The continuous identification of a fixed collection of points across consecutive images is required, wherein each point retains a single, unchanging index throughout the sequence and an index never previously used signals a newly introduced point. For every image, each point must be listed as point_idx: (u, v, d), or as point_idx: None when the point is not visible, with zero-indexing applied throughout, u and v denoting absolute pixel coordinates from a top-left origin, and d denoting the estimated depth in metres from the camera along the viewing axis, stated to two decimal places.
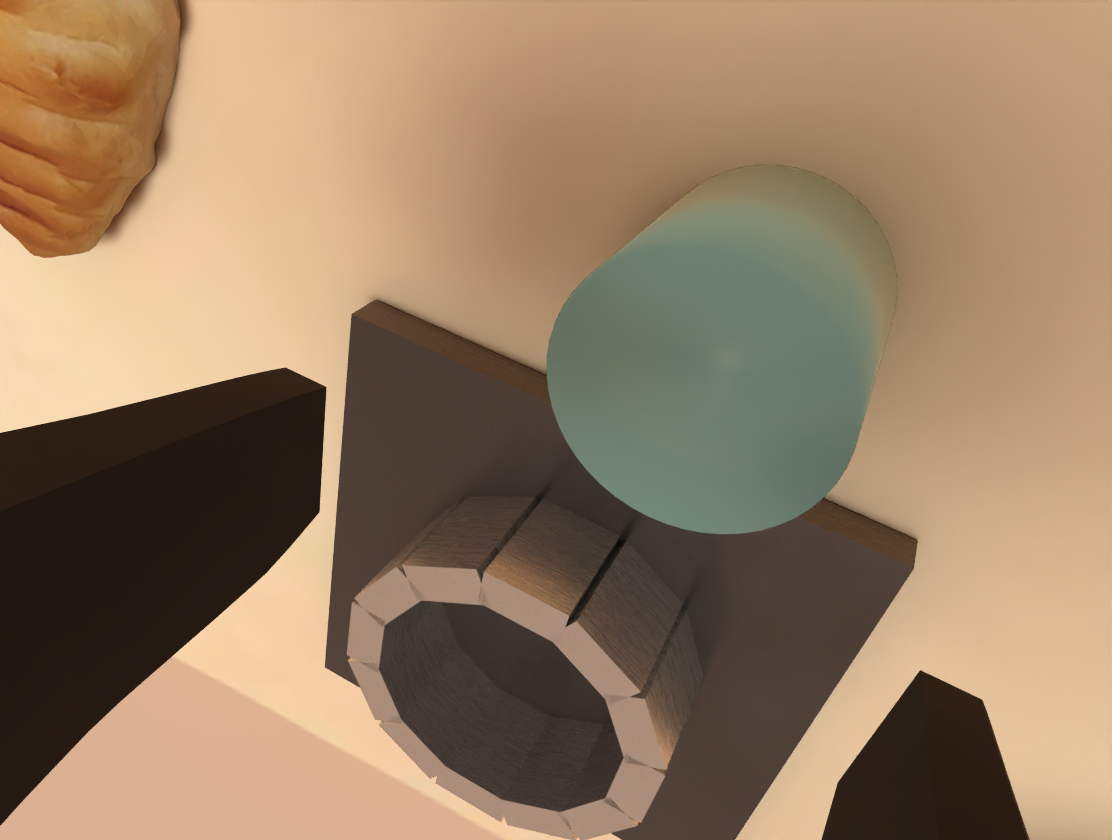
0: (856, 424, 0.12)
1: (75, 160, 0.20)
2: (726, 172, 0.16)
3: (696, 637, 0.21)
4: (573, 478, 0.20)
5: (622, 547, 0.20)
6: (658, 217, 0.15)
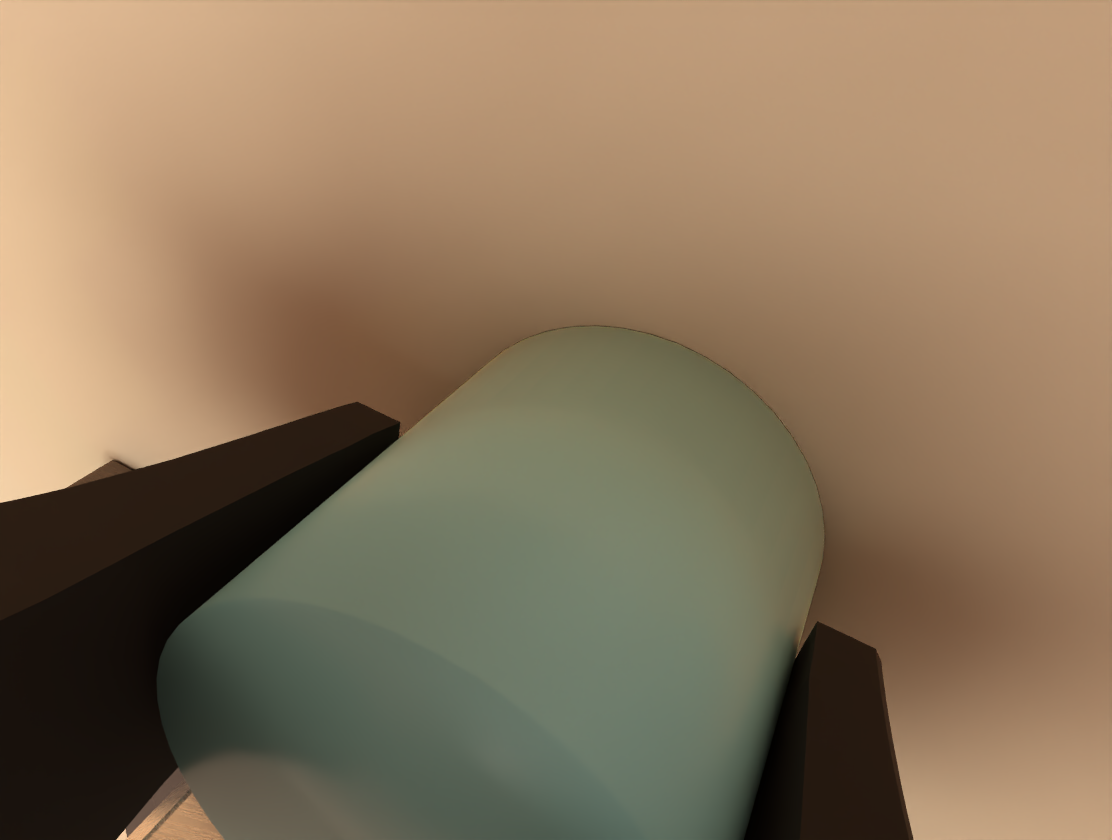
0: None
1: None
2: (544, 335, 0.10)
3: None
4: None
5: None
6: (415, 424, 0.09)
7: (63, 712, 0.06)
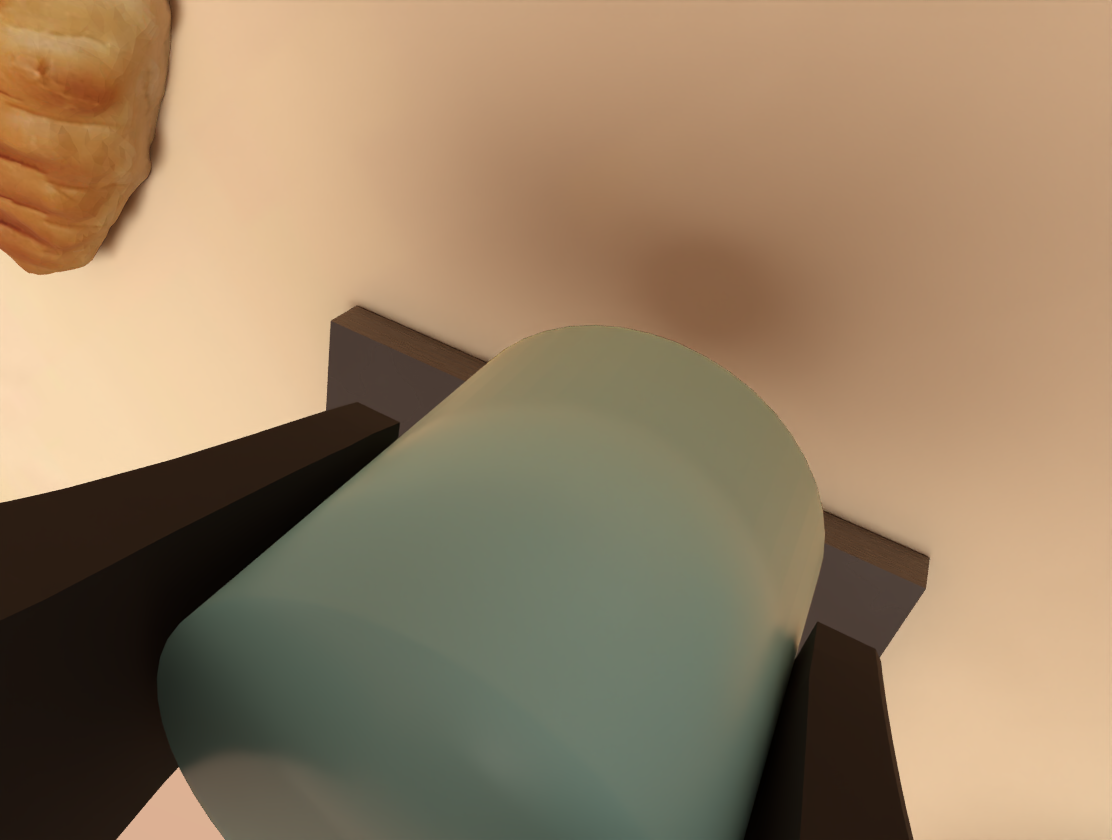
0: None
1: (63, 166, 0.19)
2: (544, 334, 0.10)
3: None
4: None
5: None
6: (415, 424, 0.09)
7: (63, 712, 0.06)
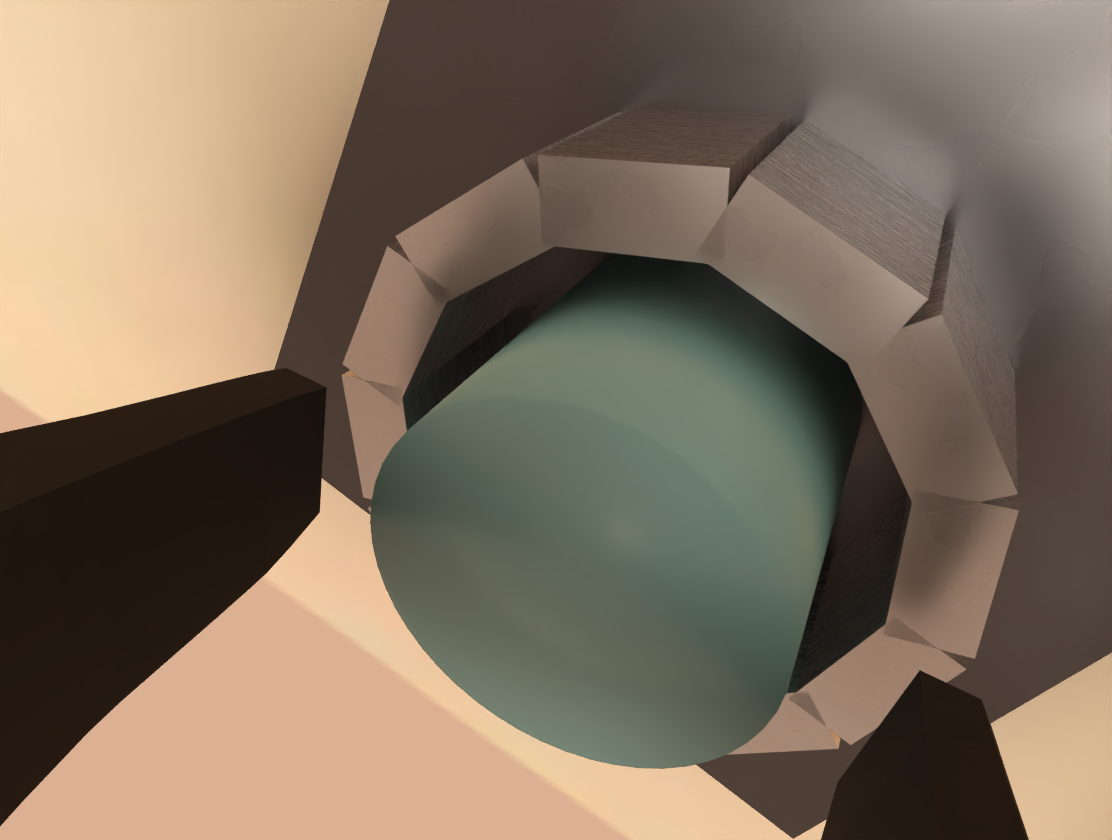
0: (788, 661, 0.08)
1: None
2: None
3: None
4: (897, 73, 0.10)
5: (953, 234, 0.10)
6: None
7: None
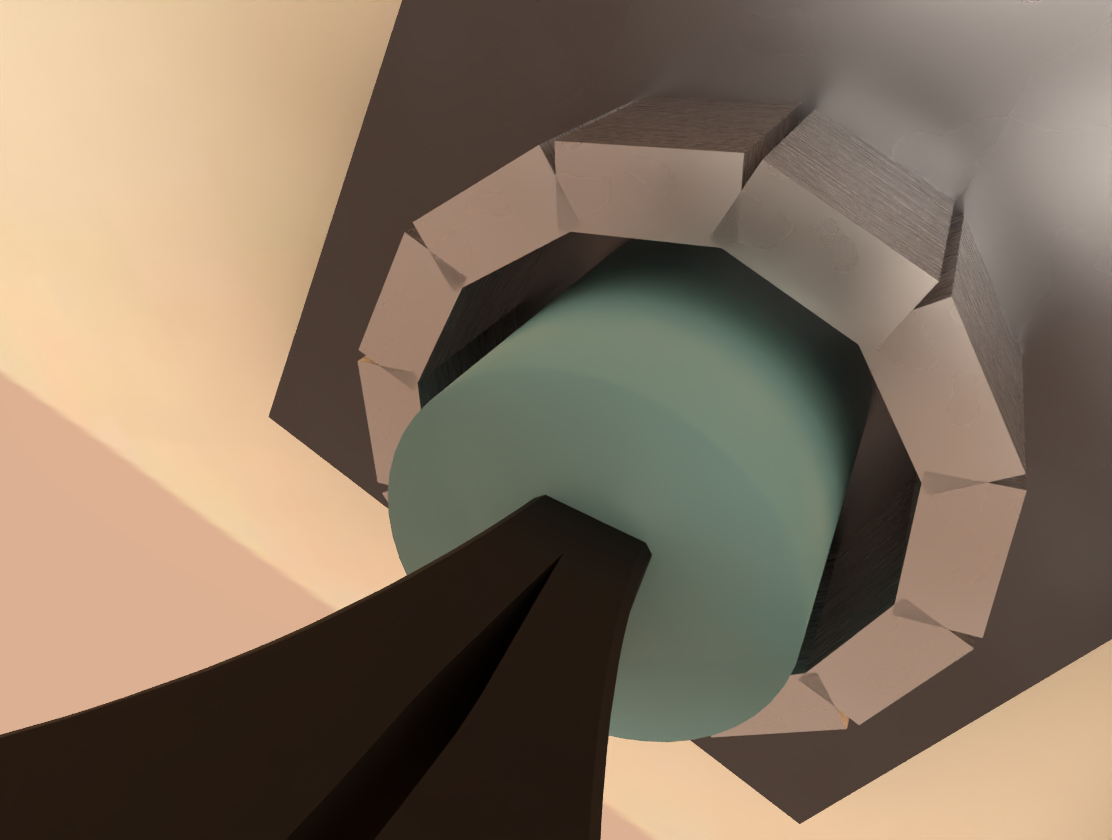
0: (798, 635, 0.08)
1: None
2: None
3: None
4: (907, 62, 0.10)
5: (962, 221, 0.10)
6: (559, 295, 0.12)
7: None
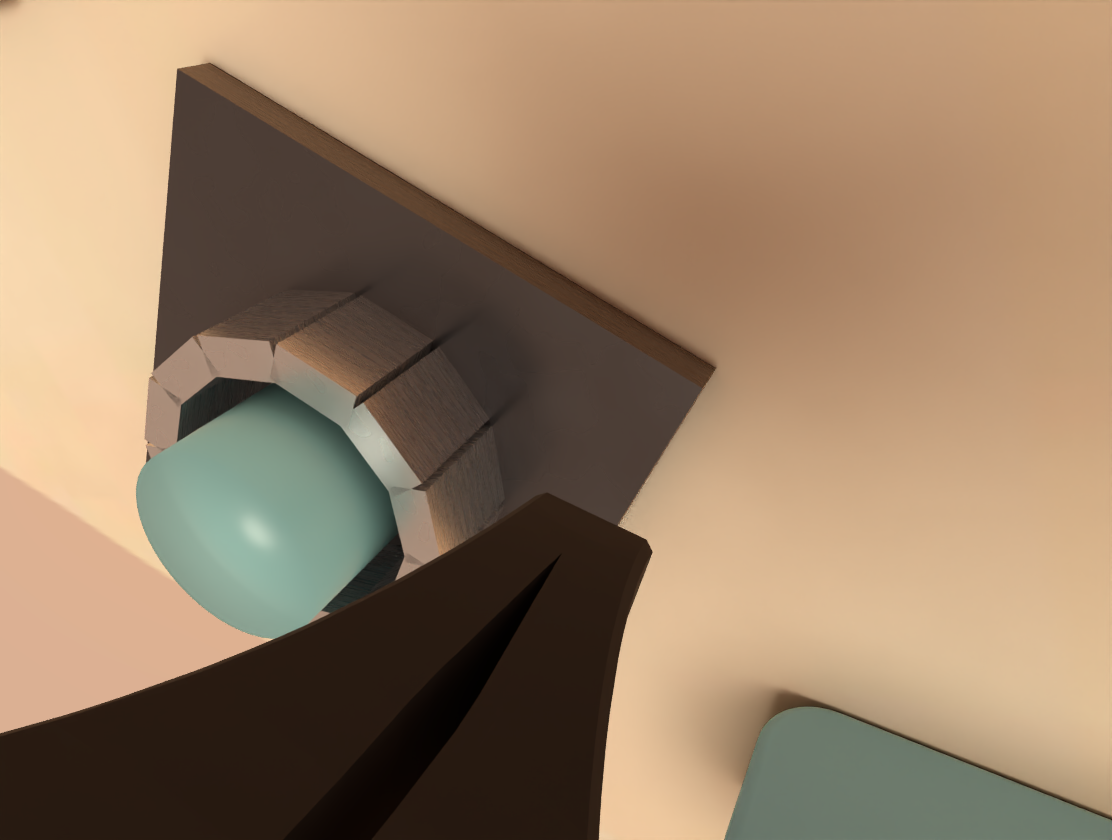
0: (307, 569, 0.17)
1: None
2: None
3: (499, 455, 0.21)
4: (390, 273, 0.19)
5: (433, 351, 0.20)
6: None
7: None
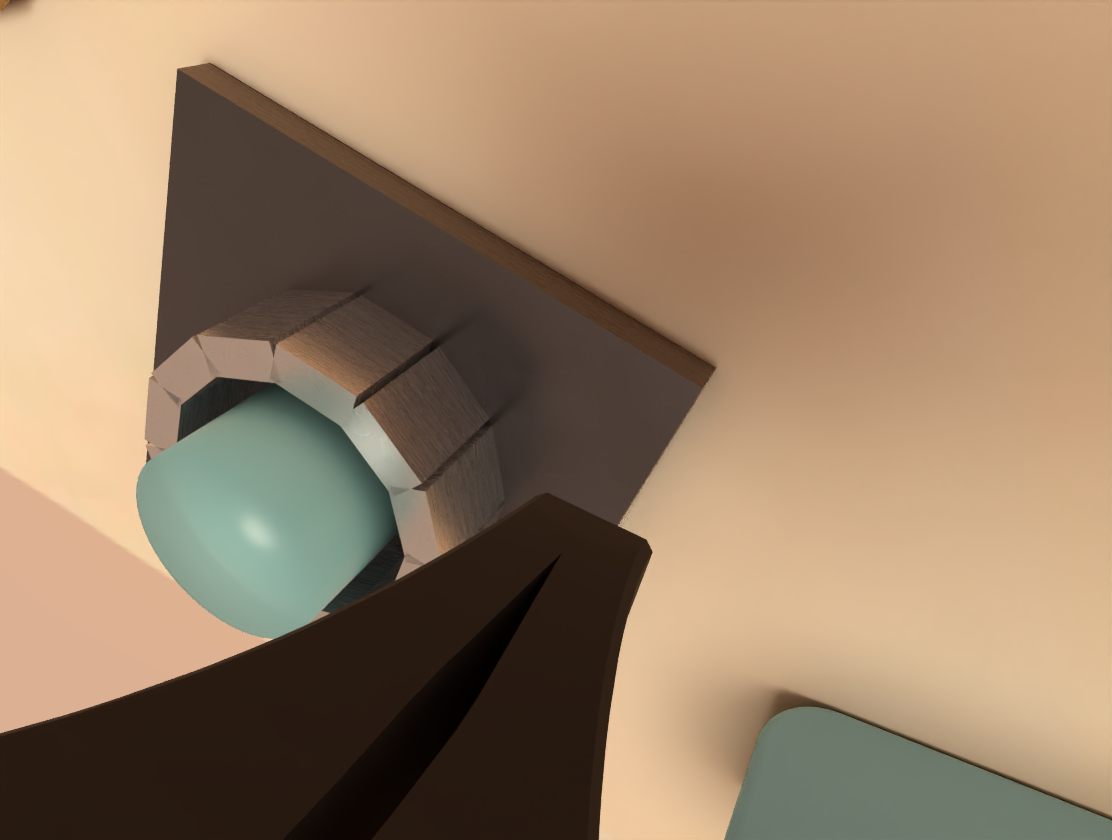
0: (307, 569, 0.17)
1: None
2: None
3: (500, 455, 0.21)
4: (390, 273, 0.19)
5: (433, 351, 0.20)
6: None
7: None
